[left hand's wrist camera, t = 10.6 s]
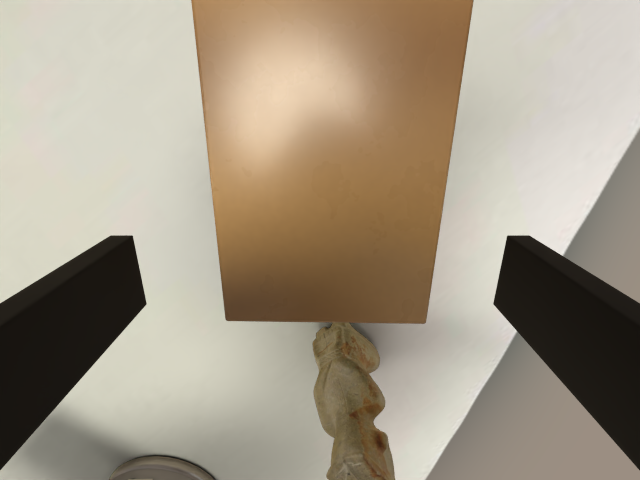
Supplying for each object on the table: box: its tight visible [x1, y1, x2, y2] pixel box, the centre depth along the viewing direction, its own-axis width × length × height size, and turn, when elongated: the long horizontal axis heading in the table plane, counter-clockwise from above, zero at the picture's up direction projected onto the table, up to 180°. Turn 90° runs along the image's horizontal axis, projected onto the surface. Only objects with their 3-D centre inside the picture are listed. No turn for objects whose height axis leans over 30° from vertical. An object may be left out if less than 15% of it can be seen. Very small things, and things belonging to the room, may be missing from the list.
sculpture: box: [313, 322, 395, 480], centre depth 30 cm, size 6×7×15 cm
